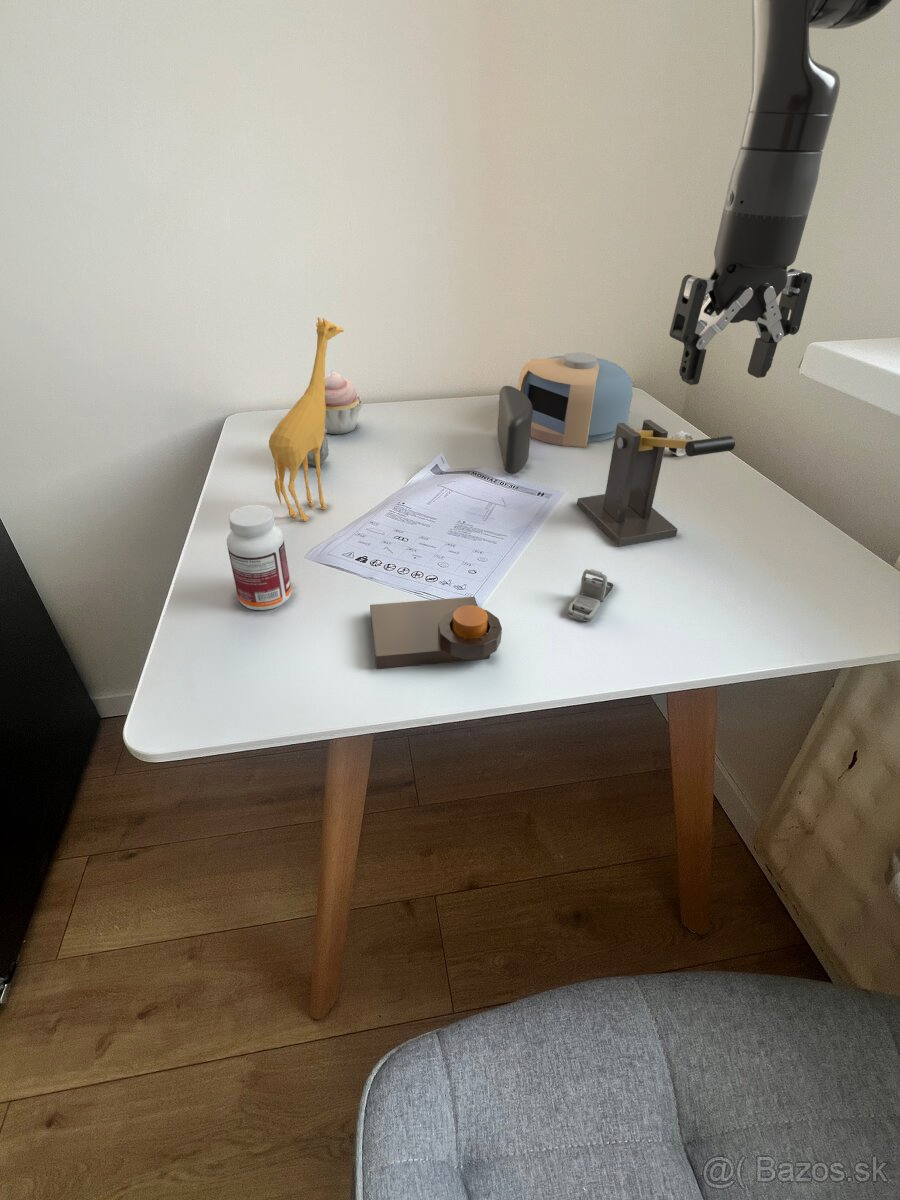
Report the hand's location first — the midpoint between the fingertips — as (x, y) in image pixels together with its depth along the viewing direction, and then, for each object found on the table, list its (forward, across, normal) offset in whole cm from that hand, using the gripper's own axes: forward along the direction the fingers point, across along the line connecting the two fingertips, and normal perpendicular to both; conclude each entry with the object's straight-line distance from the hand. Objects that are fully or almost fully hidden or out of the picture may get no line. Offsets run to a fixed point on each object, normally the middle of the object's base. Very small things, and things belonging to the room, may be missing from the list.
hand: (723, 379), depth 75 cm
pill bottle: (+24, -50, +9) cm, 57 cm away
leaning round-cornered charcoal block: (+24, -8, +37) cm, 45 cm away
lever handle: (+11, 0, +6) cm, 12 cm away
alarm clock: (+24, +9, +47) cm, 53 cm away
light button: (+21, -31, -7) cm, 38 cm away
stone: (+24, -38, +44) cm, 63 cm away
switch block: (+24, -34, -5) cm, 42 cm away
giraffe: (+24, -40, +29) cm, 56 cm away
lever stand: (+24, 0, +13) cm, 27 cm away
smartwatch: (+24, +20, +29) cm, 43 cm away
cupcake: (+24, -32, +57) cm, 69 cm away
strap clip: (+24, -14, -3) cm, 28 cm away
